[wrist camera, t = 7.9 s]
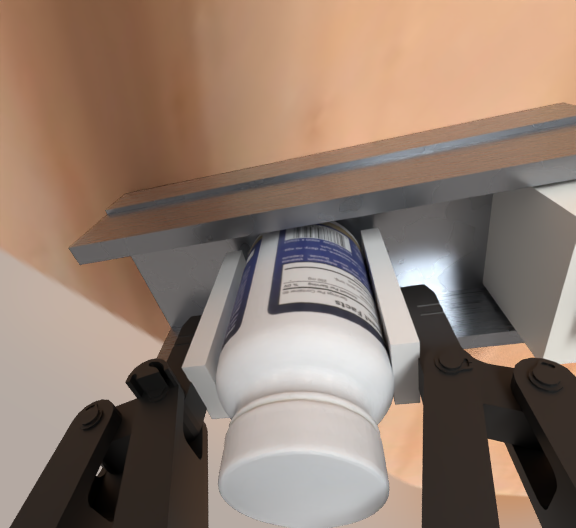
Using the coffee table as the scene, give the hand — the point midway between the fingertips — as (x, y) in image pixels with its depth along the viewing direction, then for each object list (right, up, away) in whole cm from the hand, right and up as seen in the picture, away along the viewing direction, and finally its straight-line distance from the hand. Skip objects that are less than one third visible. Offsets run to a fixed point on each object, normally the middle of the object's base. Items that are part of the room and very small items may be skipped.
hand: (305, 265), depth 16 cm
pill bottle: (0, 0, 0) cm, 1 cm away
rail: (+2, +2, +2) cm, 3 cm away
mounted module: (+10, +2, -1) cm, 10 cm away
